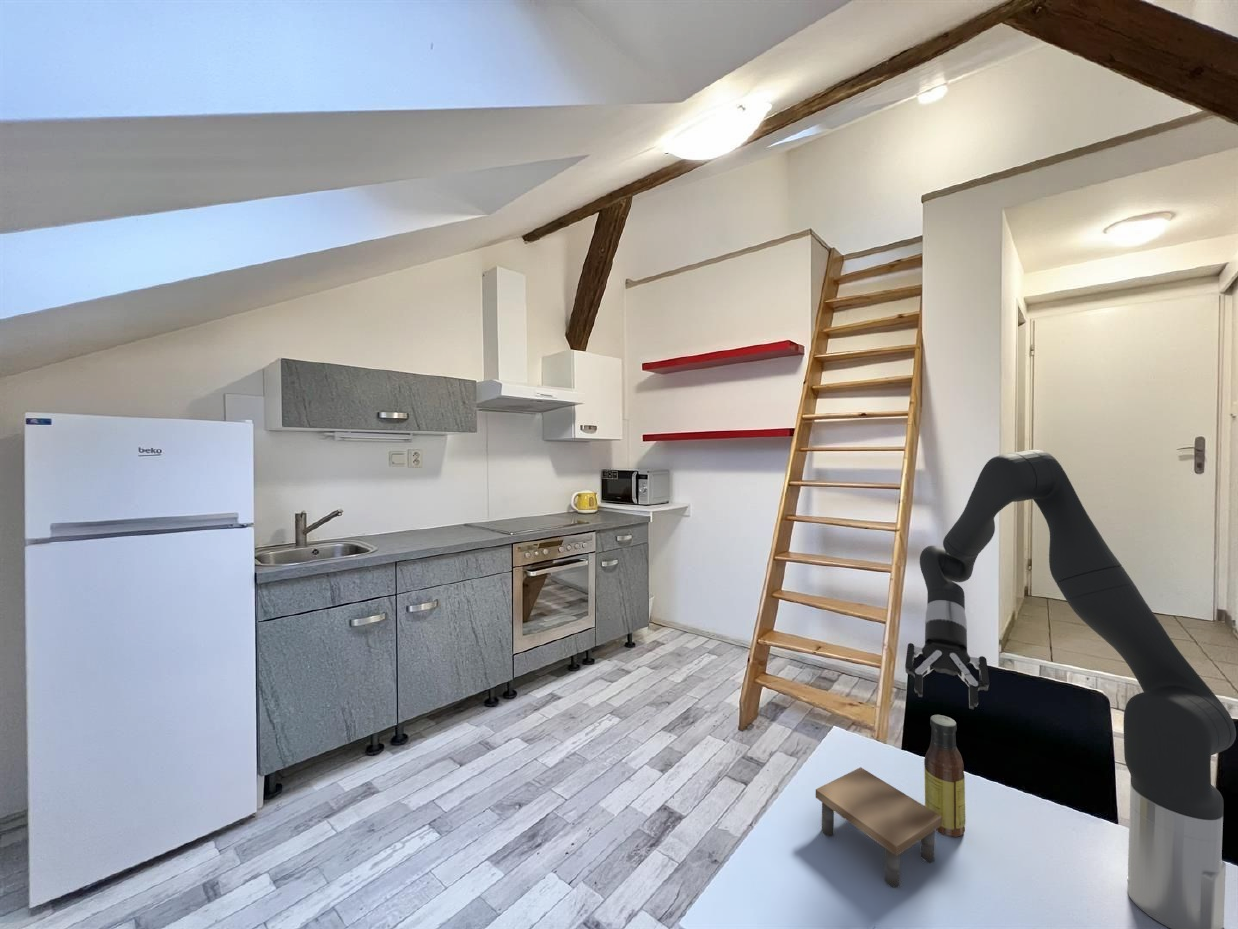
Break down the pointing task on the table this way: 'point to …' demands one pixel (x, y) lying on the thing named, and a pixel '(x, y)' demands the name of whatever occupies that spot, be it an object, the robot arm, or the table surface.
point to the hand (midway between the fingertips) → (945, 701)
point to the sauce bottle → (945, 777)
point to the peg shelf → (880, 816)
